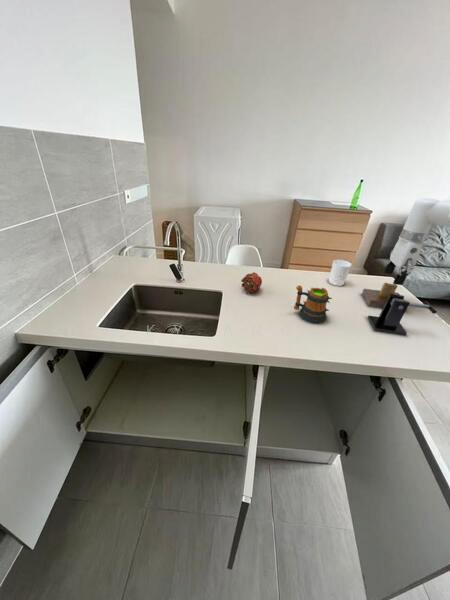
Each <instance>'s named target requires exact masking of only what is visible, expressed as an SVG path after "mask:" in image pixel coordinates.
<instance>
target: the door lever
mask: <svg viewBox="0 0 450 600" xmlns="http://www.w3.org/2000/svg"><path fill="white" fill-rule="evenodd" d="M394 300H400V301H403V300H402V299H399V298H393V299H392V301H391V303H390V304H391V305H392V303H393V301H394ZM409 303H410V304H409V306H408V308H418V309H426V310H428V311H430V312H431V313H432V314H433V315H435V314H437V312H438V311H437V310H436V309H435V308H434V307H433V306H432V305H431V304H430V303H429V302H428V301H427V300H424V301H423V303H416V302H409Z"/></svg>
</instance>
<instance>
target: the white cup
mask: <svg viewBox="0 0 450 600" xmlns="http://www.w3.org/2000/svg"><path fill="white" fill-rule="evenodd" d="M352 266H353V265H352V263H351V262H349V261H347V260H344V259H335V260H332V264H331V269H330V272H329V279H328V283H329V284H331V285H334V286H336V287H337V286H338V287H342V286H344V284H345V282H346V280H347V278H348V275H349V274H350V272H351V268H352Z"/></svg>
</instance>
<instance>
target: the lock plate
mask: <svg viewBox="0 0 450 600" xmlns="http://www.w3.org/2000/svg"><path fill="white" fill-rule="evenodd" d="M380 291H381V290H378V289H370V288H363V289H362V292H361V296H362V298H363V300H364V301H365V303H366V305H367V306H368V307H371V308H378V309H383V307H384V305H385V303H386V300H387V298H388V297H382V296H379V293H380ZM394 295H401V294H400V293H399V292H396V291H395V292H394ZM403 301H406V300H405V298H404V299H403Z"/></svg>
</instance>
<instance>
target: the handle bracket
mask: <svg viewBox="0 0 450 600" xmlns="http://www.w3.org/2000/svg"><path fill="white" fill-rule="evenodd" d="M393 298H399V299H402V300H403V299H404V300H405V296H404V295H401V294H400V295H394V294H389V296H388V298H387V300H386V303H385V305H384V307H383V308H381V311H380V313H379V315H378V316H376V315H368V316H367V320H368V322H369V324H370V326H371V327H372V329H373V331H374V332H378V333H385V334H392V335H399V336H406V335H407V331H406V330H405V328H404V326H402V324H401V321H402V319H403V317H404V315H405V314H406V312H407V310H408V308H409V304H410V303H411V302H410V301H406V300H405V301H400V300H394V301H393V303H392V305H391V304H390V303H391V301H392V299H393Z"/></svg>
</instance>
